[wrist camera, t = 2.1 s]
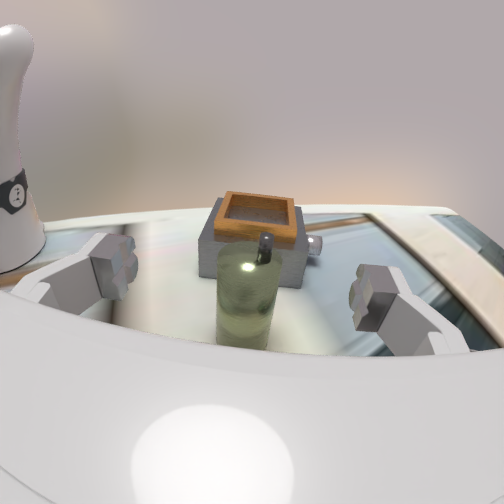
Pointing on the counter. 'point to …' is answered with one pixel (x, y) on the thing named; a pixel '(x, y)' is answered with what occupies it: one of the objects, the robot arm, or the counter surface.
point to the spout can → (246, 292)
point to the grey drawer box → (258, 232)
